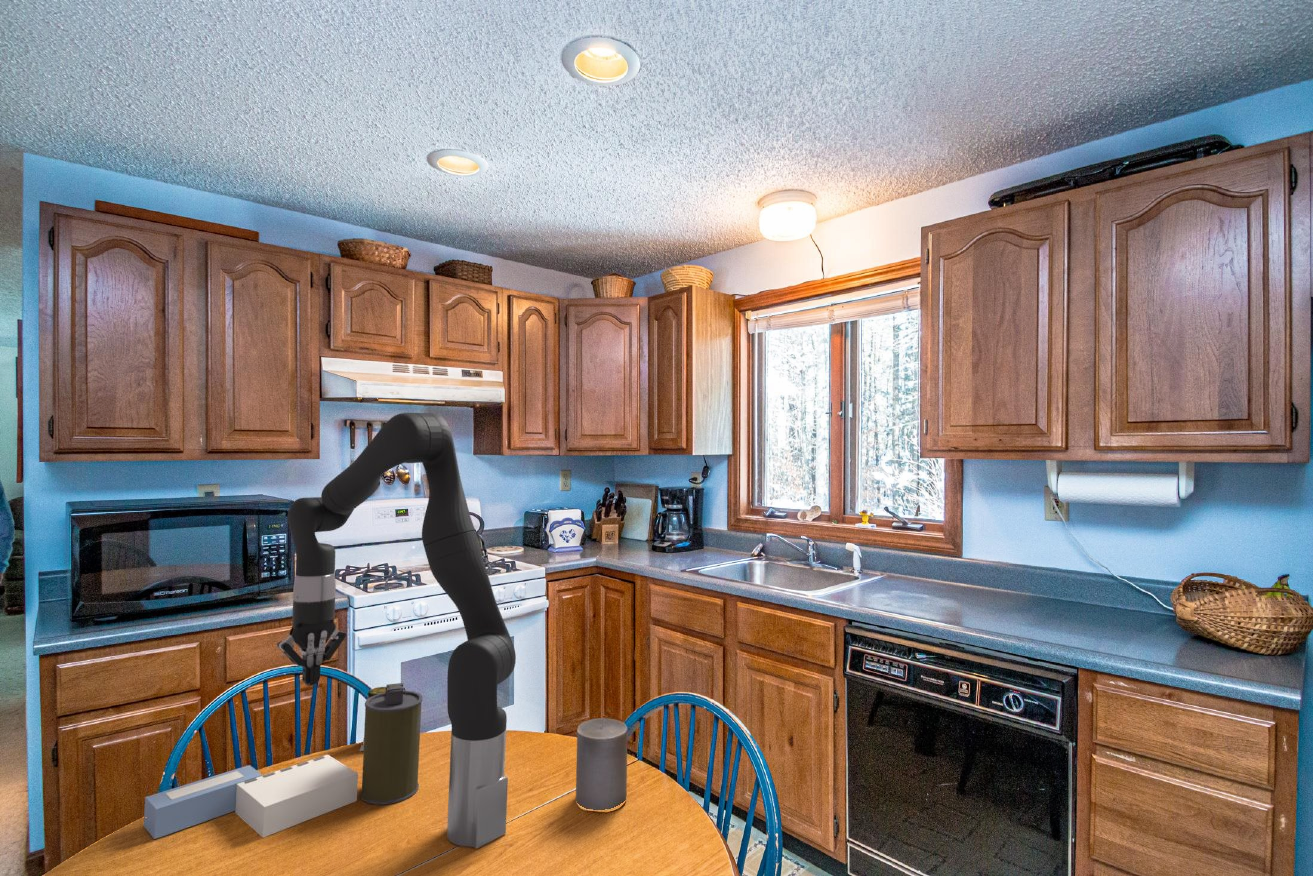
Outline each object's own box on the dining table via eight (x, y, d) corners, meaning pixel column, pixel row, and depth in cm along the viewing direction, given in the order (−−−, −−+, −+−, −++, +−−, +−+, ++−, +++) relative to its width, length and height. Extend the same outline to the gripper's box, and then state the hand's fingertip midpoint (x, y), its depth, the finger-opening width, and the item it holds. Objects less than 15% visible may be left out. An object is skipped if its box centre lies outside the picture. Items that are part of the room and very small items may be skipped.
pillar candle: (611, 783, 130) (612, 707, 131) (635, 805, 122) (637, 724, 122) (566, 796, 125) (568, 717, 125) (589, 820, 117) (591, 735, 117)
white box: (356, 800, 121) (358, 772, 121) (262, 837, 108) (264, 806, 108) (326, 780, 128) (327, 754, 128) (235, 812, 115) (236, 783, 116)
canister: (421, 799, 122) (426, 691, 123) (360, 809, 118) (366, 698, 119) (415, 773, 132) (420, 674, 133) (359, 783, 127) (364, 679, 128)
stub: (260, 801, 119) (262, 774, 119) (154, 839, 106) (156, 808, 107) (247, 791, 123) (249, 764, 123) (143, 826, 110) (145, 796, 110)
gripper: (287, 604, 122) (283, 697, 121) (356, 594, 133) (353, 680, 132) (270, 599, 127) (267, 689, 126) (338, 590, 137) (335, 673, 136)
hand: (311, 684), depth 129 cm, fingers closed
